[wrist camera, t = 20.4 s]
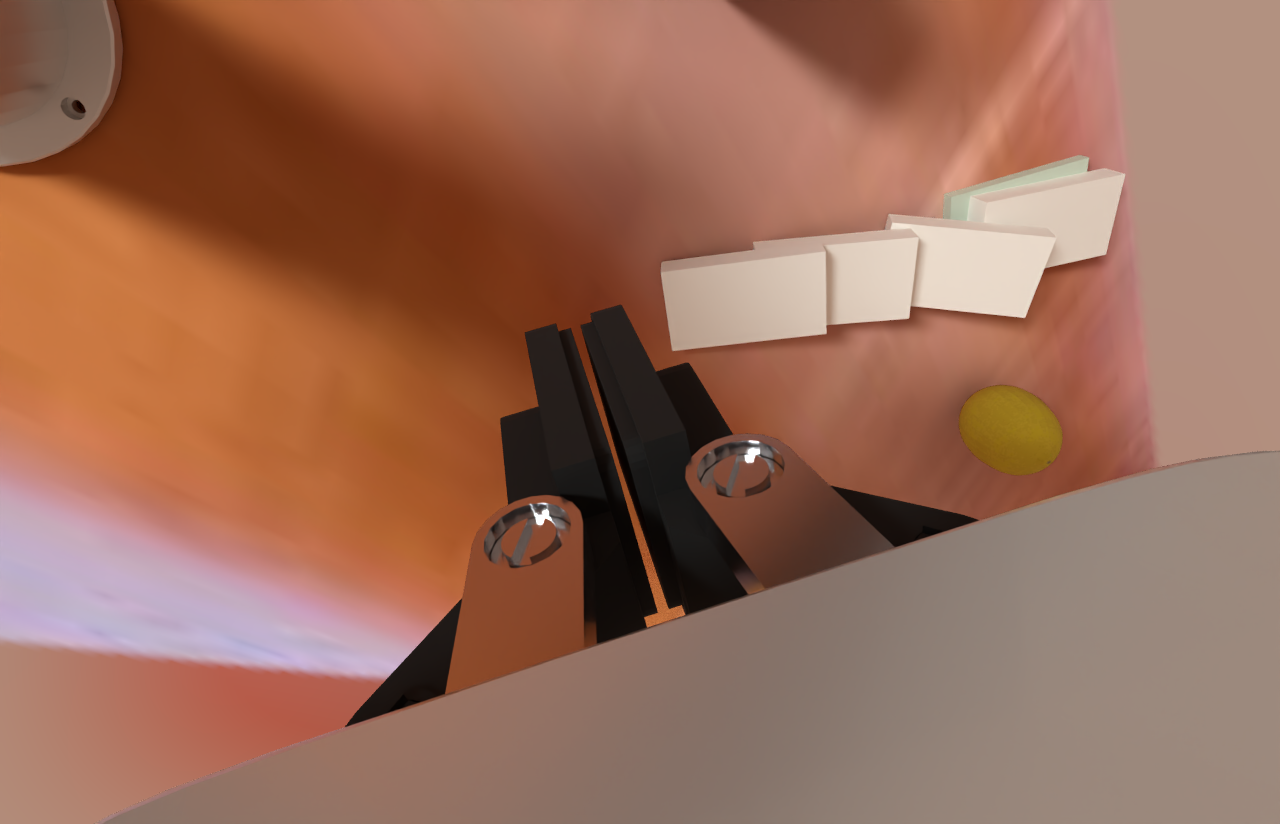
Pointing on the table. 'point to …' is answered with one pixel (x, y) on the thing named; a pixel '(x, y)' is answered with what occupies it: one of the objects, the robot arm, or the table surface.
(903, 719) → the robot arm
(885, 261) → the tile
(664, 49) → the table surface
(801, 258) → the tile
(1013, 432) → the lemon
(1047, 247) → the tile
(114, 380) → the table surface
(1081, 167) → the tile
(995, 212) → the tile
